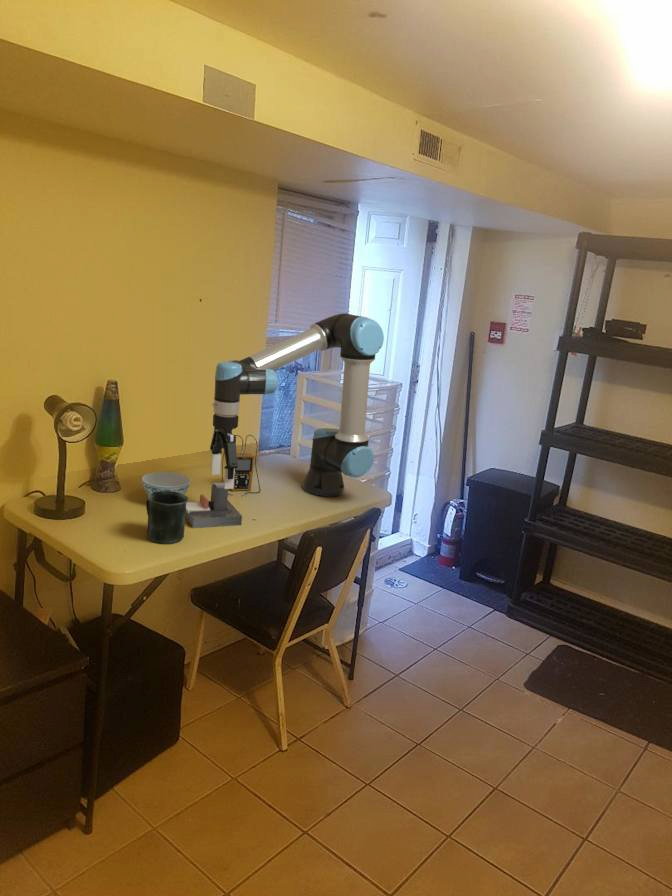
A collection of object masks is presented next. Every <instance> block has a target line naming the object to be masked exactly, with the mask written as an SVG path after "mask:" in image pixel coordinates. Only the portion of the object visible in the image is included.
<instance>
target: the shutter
mask: <svg viewBox="0 0 672 896" xmlns="http://www.w3.org/2000/svg"><path fill="white" fill-rule="evenodd" d="M199 501H200V502H197V501H187V502H186V511H187V512H188V513H190V511H209V510H210V508H209V507H208V505H209V501H210V500H209V499H207V497H206V496H205V494H199Z"/></svg>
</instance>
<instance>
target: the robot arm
mask: <svg viewBox="0 0 672 896" xmlns="http://www.w3.org/2000/svg"><path fill="white" fill-rule="evenodd" d="M384 337H385V336H384V332H383V328H382V327H381V325H380V324H379V323H378V322H377V321H376V320H374V319H371V318H369V317H367V316H360V315H355V314H351V313H338V314H337V313H336V314H334V315H331V316H328V317H326V318H323V319H322V320H319V321H316V322H315V323H312V324H311V325H310V327H309V329H306V330H305V331H302V332H300V333H298V334H295V335H294V336H291V337H288V338H287V339H285V340H283V341H281V342H278V343H276V344H273V345H272V346H269V347H267V348H265V349H263V350H261V351H258V352H256V353H254V354H251V355H250V356H248V357H245V358H243V359H240V360H238V359H231V360H228V361H221V362H218V363H217V365H216V366H215V367H216V368H215V375H214V399H213V403H212V407H213V413H214V414H213V415H212V426H213V427H214V428H213V434H212V438H211V443H210V446H209V449H210V451H211V467H210V468H211V470H210V471H211V472H210V474H211V476H213V475H214V476H215V475H221V468H222V454H224V459H225V466H223V469H224V481H223V483H224V489H228V490H231V489H233V488H234V472H235V468H238V463H237V453H238V451H237V436H236V435H237V434H233V430H234V429H237V428H238V427H239V414H240V403H241V402H240V400H241V395H243V396H244V395H264V396H265V395H270V394H271V395H272V394H274V393H275V392H276V390H277V388H278V385H279V384H278V383H279V379H278V375H277V373H276V370H278V369H280V368H283V367H285V366H287V365H289V364H291V363H294V362H296V361H297V360H300V359H302V358H304V357H306V356H309V355H311V354H313V353H315V352H317V351H319V350H320V351H322V352H323V351H326V350H328V349H333V348H340V352H339V353H340V356H339V357H340V359H342V361H343V363H344V364H343V365H344V366H343V377H342V379H343V380H342V392H341V394H342V395H341V408H340V422H339V428H331V427H329V428H327V427H326V428H325V427H324V428H317V429H316V430H314V432H313V436H312V444H311V455H310V465H309V469H308V471H307V474H306V476H305V478H304V480H303V482H302V489H303V490H304V492H306V491H307V492H306V493H308V492H309V493H308V494H310V493H312V494H311V495H314V494H315V495H314V496H318V495H321V496H320V497H326V496H334V497H338V496H337V495H340V494H342V493H343V492H344V493H345V483H344V480H343V479H344V478H343V475H345V476H348V477H349V478H354V479H355V478H360V477H362V476H364V475H366V474H367V472H369V471H370V469H371V468H372V467H373V464H374V460H375V455H374V452H373V451H372V449H371V448H370V447H369V440H370V438H369V436H368V435H367V433H366V432H365V431H366V419H367V409H368V408H367V407H368V396H369V394H368V393H369V383H370V382H369V380H370V369H371V364H372V362H374V361H375V360H376V354H378V353H379V352H380V350H381V348H382V347H383V345H384V341H385V340H384ZM222 449H223V450H222ZM344 493H343V494H344ZM343 494H342V495H343ZM340 496H341V495H340Z"/></svg>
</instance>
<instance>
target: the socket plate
mask: <svg viewBox="0 0 672 896" xmlns="http://www.w3.org/2000/svg"><path fill="white" fill-rule="evenodd" d="M208 501H209V505H208V507H209V508H210V503H211V500H208ZM196 502H200V500H198V501H196ZM185 520H186V521H187V522H188V523H189V524H190V526H191V527H192V529H198V528H200V529H201V528H215V527H230V526H231V527H233V526H241V525H242V523H243V522H242V521H243V515H242V514H241V513H240V511H238V510H237V508H236V507H235V506H234V505H233V504H232V503H231V501H230V500H228V499H227V509H226V510H212V509H211V508H210V510H209V511H190V513H188V512H187V511H186V513H185Z"/></svg>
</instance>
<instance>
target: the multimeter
mask: <svg viewBox="0 0 672 896" xmlns="http://www.w3.org/2000/svg"><path fill="white" fill-rule="evenodd" d="M235 435H236V437H239V438H240V439H241V440H242V443H241V444H242V445H241V451H240V452H239V453H238V452H237V463H238V468H235V472H234V488H233V489H230V490H231V492H235V491H238V492H239V491H241V492H242V491H246V492H245V493H242V494H241V495H240V496H239V494H234V493H230V492H228V496H237V497H239V498H241V497H243V496H245V495H246V494H249V493H250V494H258V493H261V485H260V480H259V475H258V471H257V469H258V468H257V453H258V449H255V455H254V454H253V453H247V450H246V449H247V441H245V444H244V439H243V437H242V436H241V435H237V434H235ZM248 436H250V437H252V438H253V439H254V440H255V442H256V448H258V441H257V439H256V438H255V436H254V435H251V434H247V435H246V437H245V440H247V438H248ZM222 454H223V455H222V459H221V483H224V481H223V479H224V478H223V474H224V473H223V469H224V466H223V465H224V459H225V454H224V453H222ZM254 466H255V472H256V477H257V482H258V490H259V491H256V492H251V490H252V483H253V473H254Z"/></svg>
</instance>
